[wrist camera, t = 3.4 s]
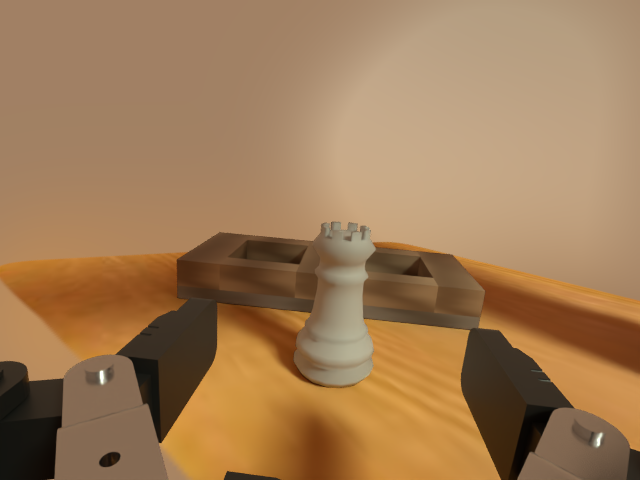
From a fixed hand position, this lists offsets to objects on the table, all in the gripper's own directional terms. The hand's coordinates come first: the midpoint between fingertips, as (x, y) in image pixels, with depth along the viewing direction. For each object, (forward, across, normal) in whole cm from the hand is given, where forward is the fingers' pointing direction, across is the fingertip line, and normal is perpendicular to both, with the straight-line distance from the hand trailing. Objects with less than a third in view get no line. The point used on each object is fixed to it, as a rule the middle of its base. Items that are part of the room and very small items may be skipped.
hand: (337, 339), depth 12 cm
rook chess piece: (+8, 0, +6) cm, 10 cm away
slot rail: (+19, +1, +6) cm, 20 cm away
